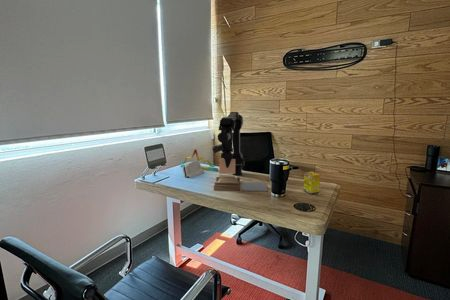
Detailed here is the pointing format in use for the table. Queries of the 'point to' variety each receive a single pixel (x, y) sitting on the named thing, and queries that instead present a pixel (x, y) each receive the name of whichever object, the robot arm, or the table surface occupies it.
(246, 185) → the charcoal mat
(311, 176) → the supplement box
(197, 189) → the table surface
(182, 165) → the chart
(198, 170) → the beige rounded block
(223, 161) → the terracotta board
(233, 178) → the offcut stack
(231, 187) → the walnut rack
